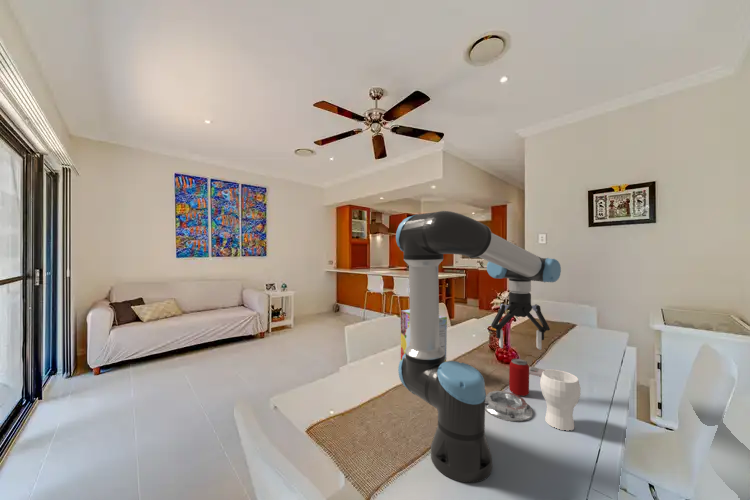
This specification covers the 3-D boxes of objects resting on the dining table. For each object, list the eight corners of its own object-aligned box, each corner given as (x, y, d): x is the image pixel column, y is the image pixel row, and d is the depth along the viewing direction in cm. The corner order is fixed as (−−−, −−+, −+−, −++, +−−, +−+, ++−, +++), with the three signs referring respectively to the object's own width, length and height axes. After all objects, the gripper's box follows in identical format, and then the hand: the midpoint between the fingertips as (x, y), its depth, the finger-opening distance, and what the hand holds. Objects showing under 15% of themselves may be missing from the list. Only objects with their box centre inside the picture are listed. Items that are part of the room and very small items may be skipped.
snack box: (448, 376, 125) (448, 316, 125) (433, 381, 120) (434, 319, 120) (412, 360, 142) (413, 307, 142) (399, 364, 137) (399, 310, 137)
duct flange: (540, 423, 91) (540, 415, 91) (487, 419, 94) (487, 410, 94) (522, 398, 107) (522, 390, 107) (477, 394, 109) (477, 387, 109)
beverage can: (529, 391, 112) (530, 360, 112) (528, 399, 106) (528, 366, 106) (510, 386, 116) (510, 356, 116) (507, 394, 110) (508, 362, 110)
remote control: (522, 368, 135) (522, 361, 135) (562, 377, 126) (562, 370, 126) (519, 373, 130) (519, 366, 130) (560, 382, 121) (560, 375, 121)
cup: (581, 438, 84) (581, 386, 84) (539, 426, 90) (539, 377, 90) (579, 420, 93) (579, 373, 93) (540, 410, 99) (541, 366, 99)
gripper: (550, 291, 113) (550, 345, 113) (483, 289, 116) (483, 342, 117) (560, 294, 105) (559, 352, 105) (487, 292, 109) (487, 349, 109)
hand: (519, 347), depth 111 cm, fingers open, 13 cm apart
